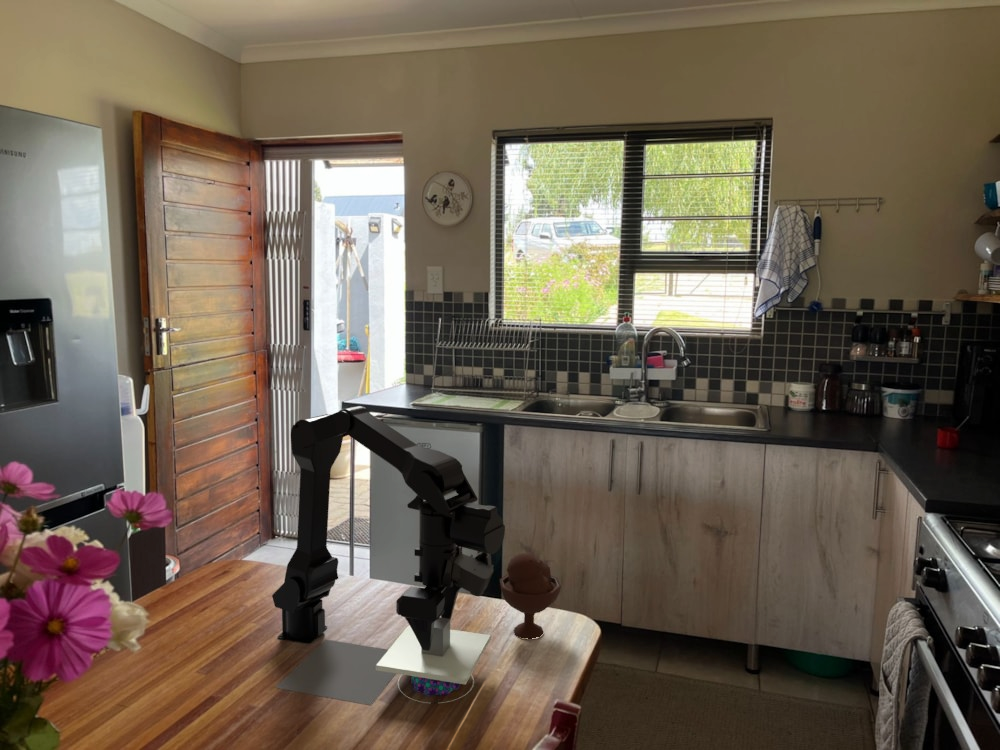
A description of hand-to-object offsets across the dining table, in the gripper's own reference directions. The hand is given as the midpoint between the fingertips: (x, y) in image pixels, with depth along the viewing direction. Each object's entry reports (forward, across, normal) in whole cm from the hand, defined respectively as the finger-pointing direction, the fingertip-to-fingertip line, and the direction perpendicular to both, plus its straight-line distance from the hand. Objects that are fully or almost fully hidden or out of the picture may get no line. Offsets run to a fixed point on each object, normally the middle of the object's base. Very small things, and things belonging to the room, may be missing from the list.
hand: (436, 635), depth 117 cm
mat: (+8, -1, +15) cm, 17 cm away
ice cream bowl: (+8, +21, -10) cm, 25 cm away
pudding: (+9, 0, 0) cm, 9 cm away
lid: (+3, 0, 0) cm, 3 cm away
